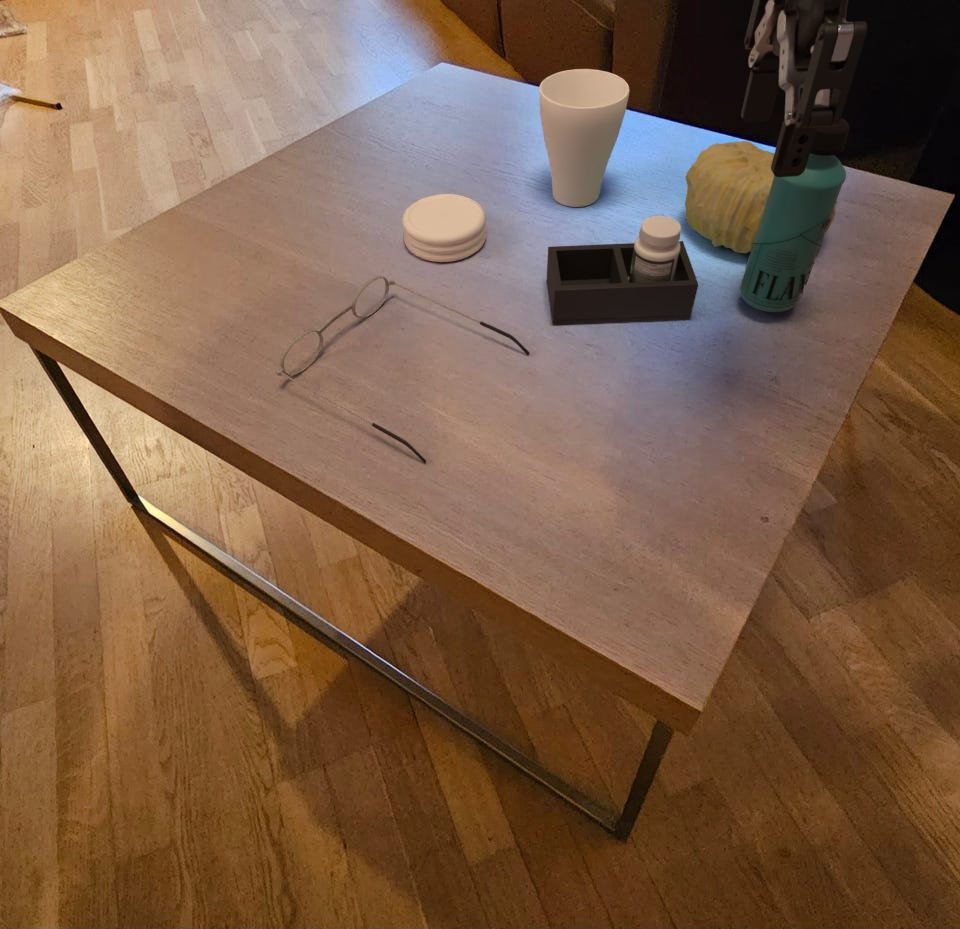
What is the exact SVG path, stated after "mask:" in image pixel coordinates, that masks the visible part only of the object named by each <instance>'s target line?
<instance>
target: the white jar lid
mask: <svg viewBox="0 0 960 929" xmlns="http://www.w3.org/2000/svg"><path fill="white" fill-rule="evenodd" d="M486 220H487V217H486V212H485V210H484V208H483V207H482V206H481V204H479V203H478V202H477V201H475V200H474V199H472V198H469V197H467V196H465V195H460V194H456V193H455V194H454V193H439V194H433V195H429V196H425V197H423V198H420V199H418V200H416V201H415V202H413V203H412V204H410V205H409V206H408V207H407V208H406V209H405V211H404V212H403V215H402V219H401V224H402V227H403V228H402V233H403V235H404V236H403V241H404V244H405V245H406V248H407V249H408V250H409V251H410V253H412V254H413V255H414V256H416V257H418V258H420V259H422V260H425V261H429V262H437V263H448V262H456V261H460V260H463V259H466V258H469V257H470V256H473V255H474V254H475V253H477V252H478V251H479V250H480V249H482V247H483V246H484V244H485V242H486V239H487V231H486V230H487V224H486Z"/></svg>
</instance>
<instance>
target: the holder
mask: <svg viewBox="0 0 960 929" xmlns="http://www.w3.org/2000/svg"><path fill="white" fill-rule="evenodd" d="M679 243H680V254H679V258H678V263H677V268H676V272H675V277H674V281H661V282H637V283H629V276H630V269H631V263H632V256H633V250H634V244H635V242H632V243H631V242H629V243H605V244H583V245H580V244H579V245H559V246H558V245H557V246H556V245H555V246H548V247H547V260H546V261H547V265H546V288H547V295H548V302H549V308H550V309H549V310H550V316H551V324H552V325H553V326H566V325H567V326H568V325H569V326H570V325H590V324H591V325H592V324H593V325H594V324H615V323H616V324H617V323H635V322H636V323H640V322H663V321H666V322H667V321H686V320H688V321H689V320H691V318H692V314H693V309H694V305H695V301H696V297H697V294H698V288H699V282H698V278H697V277H696V274H695V271H694V268H693V265H692V262H691V260H690V257H689V254H688V251H687V249H686V245H685V242H684V241H683V240H679Z"/></svg>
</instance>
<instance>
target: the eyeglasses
mask: <svg viewBox="0 0 960 929" xmlns="http://www.w3.org/2000/svg"><path fill="white" fill-rule="evenodd" d="M378 279H383V280H384V285H385V289H384V294H383V296H382V298H381V299H380V300H379V302H378V303H377V304H376V306H375V307H373V308H372V309H371V310H370V311H369V312H368V313H367V312H366V314H363V315H357V311H356V305H357V302H358V299H359V297H360V295H361V293H362V292H363V291H364V290H365V289H366V288H367V287H368V286H369V285H371V284H372V283H374V281H377V280H378ZM394 285H396V286H398V287H400V288H402V289H403V290H406V291H409V292H411V293H413V294H415V295H417V296H419V297H421V298H424V299H426V300H427V301H431V302H432V303H435V304H437V305H439V306H441V307H444V308H445V309H448V310H450V311H452V312H455V313H457V314H459V315H461V316H463V317H466V318H467V319H470V320H472V321H474V322H476V323H478V324H479V325H480V326H482V327H484V328H487V329H489V330H490V331H493V332H495V333H497V334H499V335H502V336H504V337H506V338H508V339H510V340H511V341H512V342H513V343H515V344H516V345H517V346H518V347H519V348H520V349H521V350H522V351H523V352H524V354H525V355H526V356H530V355H531V354H530V351H529V350H528V349H527V348H526V347H525V346H524V345H523V344H522V343H521V342H520V341H519V340H518V339H517V338H516V337H515V336H514V335H511V334H510V333H509V332H507V331H504V330H501V329H500V328H497V327H495V326H493V325H491V324H488V323H487V322H484V321H483V320H482V321H479V320H478V319H475V318H472V317H471V316H468V315H466V314H464V313H461V312H460V311H457V310H456V309H453V308H451V307H448V306H447V305H444V304H442V303H440V302H437V301H436V300H433V299H431V298H428V297H426V296H424V295H422V294H420V293H418V292H415V291H413V290H412V289H410V288H407V287H405V286H403V285H401V284H398V283H396V281H395V280H394V279H393V278H391V279H390V280H388V279H387V277H385V276H384V275H377V276H374V277H371V278H370V279H369V280H368V281H367V282H365V283H364V284H363V285H362V286H360V288H359V289H358V290H357V291H356V293H355V294H354V297H353V299H352V302H351V303H349V304H348V305H346V306H345V307H342V309H340V310H339V311H338V312H335V314H333V315H332V316H331V317H329V318H328V319H327V320H326V321H325V322H324V323H323V324H322V325H321V326H319V328H317V329H316V328H315V329H314V328H313V329H308V330H305V331H304V332H302V333H300V334H298V335H297V336H296V337H295V338H293V339H292V340H291V342H289V344H288V345H287V346H286V347H285V349H284V350H283V351H282V353H281V357H280V361H279V366H280V367H279V369H277V370H276V371H275V374H276V375H277V376H279V377H280V376H281V377H285V378H287V379H289V380H291V381H293V382H294V383H297V384H298V385H300V386H301V387H303V388H305V389H307V390H309V391H311V392H313V393H314V394H315V395H318V396H319V397H322V398H323V399H325V400H327V401H328V402H330V403H332V404H334V405H335V406H337V407H339V408H341V409H342V410H345V411H347V412H348V413H350V414H352V415H353V416H355V417H357V418H359V419H361V420H363V421H364V422H366V423H368V424H370V425H371V427H373V428H375V429H376V430H378V431H380V432H382V433H383V434H385V435H387V436H389V437H390V438H392V439H394V440H396V441H398V442H399V443H401V444H403V445H404V446H405V447H407V448H408V449H409V450H410V451H411V452H412V453H414V454H415V456H417V457H418V458H419V460H420V461H421V462H423V463H424V464H426V463H427V460H426V459H425V457H423V455H421V453H419V451H417V450H416V448H415V447H413V446H412V444H410V443H409V442H408V441H406V440H405V439H403V438H402V437H400V436H398V435H397V434H396V433H393V432H391V431H389V430H387V429H386V428H384V427H383V426H380V425H378V424H377V423H374V422H371V421H369V420H367V419H365V418H364V417H362V416H360V415H358V414H357V413H354V411H351V410H350V409H347V408H345V407H344V406H343V405H340V404H338V403H336V402H335V401H334V400H331V399H330V398H327V397H326V396H324V395H322V394H320V393H318V392H317V391H315V390H313V389H311V388H310V387H308V386H306V385H304V384H302V383H301V382H300V381H298V380H295V379H294V378H292V377H293V376H297V375H298V374H300V373H302V372H304V371H305V370H306V369H308V368H309V367H310V366H311V365H312V364H313V363H314V362H315V360H316V359H317V358H318V356H319V355H320V353H321V350H322V349H323V345H324V337H323V335H322V333H323V332H324V331H325V330H326V329H328V328H329V326H331V325H332V323H334V322H335V321H337V319H339V318H341V317H342V316H344V315H345V314H347V313H348V312H349V311H351V312H352V314H353V316H354V317H355V318H357V319H365V318H368V317H371V316H372V315H373V314H374V313H376V312H377V311H378V310H379V309H380V307H382V306H383V304H384V302H385V301H386V300H387V297H388V295H389V292H390V286H394ZM310 333H316V334H317V335H318V337H319V342H318V346H317V349H316V351H315V353H314V355H312V357H311V358H310V360H309V361H308V362H306V364H304V365H303V366H301V367H300V368H298V369H297V370H295V371H292V372H289V373H288V372H286V368H285V360H286V356H287V355H288V353H289V351H290V349H291V348H292V347H293V346H294V345H295V344H296V343H297V342H298V341H299V340H301V339H303V337H305V336H307V335H308V334H310Z"/></svg>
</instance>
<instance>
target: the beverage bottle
mask: <svg viewBox="0 0 960 929" xmlns="http://www.w3.org/2000/svg"><path fill="white" fill-rule="evenodd" d="M849 132H850V123H849V122H848V121H847V120H846V119H844V118H842V117H841V119H840V122H839V124H838V125H837V126H835V127H818V130H817V133H816V136H815V139H814V142H813V146H812V149H811V152H810V155H809V158H808V161H807V165H806V168H805V171H804V172H803V173H802V174H801V175H799V176H792V177H776V176H774V178H773V182H772V185H771V188H770V192H769V195H768V199H767V202H766V205H765V209H764V212H763V215H762V219H761V222H760V225H759V229H758V232H757V236H756V238H755V241H754V243H752V244H753V246H751V247H752V250H751V249H750V250H751V251H750V252H749V256H748V258H746V259H747V260H746V262H745V263H746V265H745V266H744V271H743V273H742V276H741V277H742V278H741V280H740V285H739V290H740V296H741V299H742V300H743V301H744V302H745V303H746V304H747V305H748V306H750V307H752V308H755V309H756V310H759V311H763V312H768V313H781V312H785V311H788V310H790V309H792V308H793V307H795V305H796V304H797V303H798V302H799V301H800V299H801V298H802V295H804V289H805V287H806V286H807V284H808V282H809V281H808V280H809V279H810V276H811V273H812V270H813V267H814V265H815V262H816V260H817V258H818V256H817V255H818V254H819V253H820V250H821V248H820V247H822V244H821V242H822V241H823V240H824V238H825V234H826V232H828V230H829V228H827V226H828V225H829V224H830V222H831V221H830V220H831V219H832V217H833V215H831V214H833V211H834V210H833V209H834V206H835V204H836V203H837V204H838V201H837V200H838V198H839V195H840V192H841V189H842V187H843V185H844V183H845V181H846V179H847V171H846V169H845V166H844V165H843V164H842V162H841V161H840V159H839V158H838V157H837V155H839V154H840V153H842V152H843V151H844V150H845V148H846V145H847V138H848V136H849ZM836 201H837V202H836ZM831 216H832V217H831ZM830 217H831V219H830ZM829 221H830V222H829ZM828 223H829V224H828ZM826 228H827V229H828V230H826ZM825 230H826V232H825Z"/></svg>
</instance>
